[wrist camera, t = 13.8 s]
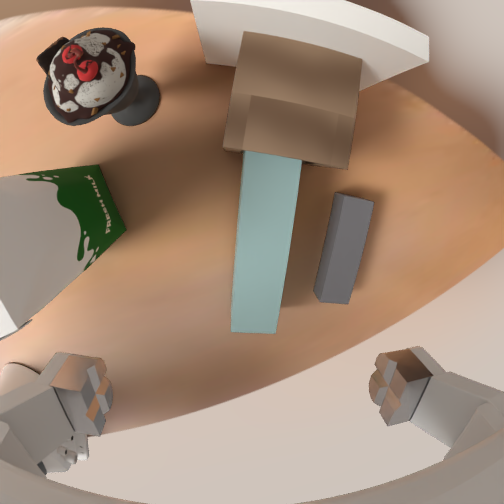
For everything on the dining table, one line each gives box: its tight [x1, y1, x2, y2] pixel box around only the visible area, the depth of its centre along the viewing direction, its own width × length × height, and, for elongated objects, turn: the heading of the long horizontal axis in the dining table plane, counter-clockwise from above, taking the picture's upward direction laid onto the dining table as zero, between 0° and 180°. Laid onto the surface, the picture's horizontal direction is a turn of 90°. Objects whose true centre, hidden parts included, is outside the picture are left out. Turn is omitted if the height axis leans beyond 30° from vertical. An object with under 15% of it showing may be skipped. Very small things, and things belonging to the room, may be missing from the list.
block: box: [222, 31, 362, 170], centre depth 20 cm, size 8×8×8 cm
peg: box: [231, 150, 302, 334], centre depth 24 cm, size 18×4×4 cm, turn 175°
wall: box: [190, 0, 429, 91], centre depth 17 cm, size 2×14×12 cm, turn 81°
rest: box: [313, 192, 374, 304], centre depth 27 cm, size 10×3×2 cm, turn 171°
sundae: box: [37, 28, 160, 126], centre depth 16 cm, size 7×7×15 cm
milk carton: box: [0, 165, 127, 341], centre depth 16 cm, size 9×9×20 cm
